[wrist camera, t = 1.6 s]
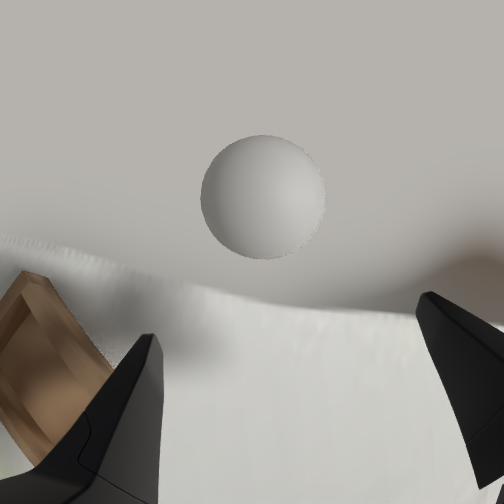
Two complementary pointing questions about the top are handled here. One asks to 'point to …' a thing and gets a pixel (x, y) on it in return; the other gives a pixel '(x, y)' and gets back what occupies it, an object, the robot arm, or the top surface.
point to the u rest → (43, 366)
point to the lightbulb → (263, 197)
